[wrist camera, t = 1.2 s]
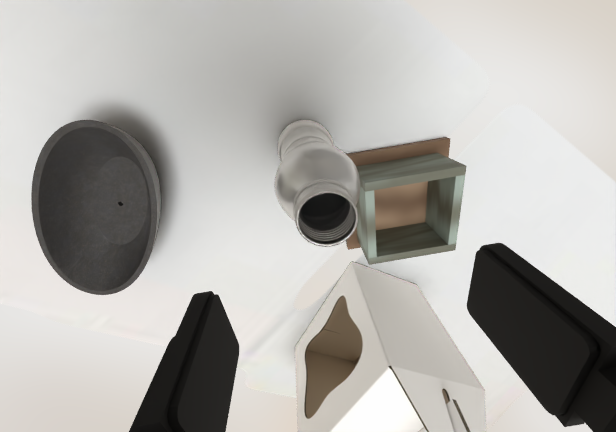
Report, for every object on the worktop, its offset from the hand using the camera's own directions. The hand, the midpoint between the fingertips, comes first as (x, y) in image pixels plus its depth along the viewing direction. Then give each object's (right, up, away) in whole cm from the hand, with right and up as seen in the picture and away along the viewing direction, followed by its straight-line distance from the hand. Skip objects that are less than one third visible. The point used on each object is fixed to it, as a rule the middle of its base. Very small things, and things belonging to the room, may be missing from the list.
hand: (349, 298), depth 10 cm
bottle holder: (+10, +6, +27) cm, 30 cm away
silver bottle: (-2, +12, +23) cm, 26 cm away
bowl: (-25, +5, +25) cm, 36 cm away
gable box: (+7, -15, +38) cm, 41 cm away
